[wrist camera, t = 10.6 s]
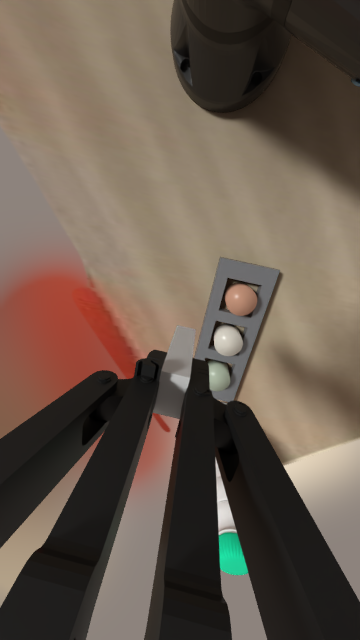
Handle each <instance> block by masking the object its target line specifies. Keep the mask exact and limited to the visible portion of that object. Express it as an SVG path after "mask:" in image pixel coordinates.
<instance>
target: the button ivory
mask: <svg viewBox="0 0 360 640" xmlns="http://www.w3.org/2000/svg"><path fill="white" fill-rule="evenodd" d="M214 346H215V349H216V350H217V352H218V353H220V354H221V355H224V356H233V355H235V354H237V353H238V352H239V351H240V350H241V349H242V346H243V341H242V338H241V335H240V333H239V330H238V328H237V327H236V326H235V325H233V324H229V323H223V324H221V325H219V326H218V327H217V328H216V329H215V331H214Z"/></svg>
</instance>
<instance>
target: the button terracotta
mask: <svg viewBox="0 0 360 640" xmlns="http://www.w3.org/2000/svg"><path fill="white" fill-rule="evenodd" d="M224 298H225V302H226V305H227V308H228V309H229V311H230V312H231V313H233V314H235V315H238V316H244V315H247V314H249V313H251V312H252V311H253V310H254V309H255V307H256V305H257V296H256V294H255V292H254V291H253V290H252V289H251V288H250V287H249V286H248V285H247V284H245V283H241V282H238V283H234V284H232V285H230V286H229V287H228V288H227V289H226V291H225V295H224Z"/></svg>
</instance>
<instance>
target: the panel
mask: <svg viewBox="0 0 360 640" xmlns="http://www.w3.org/2000/svg"><path fill="white" fill-rule="evenodd" d="M279 272H280V270H277V269H274V268H269V267H264V266H260V265H255V264H250V263H246V262H241V261H237V260H232V259H227V258H223V257H220V259H219V263H218V267H217V271H216V274H215V278H214V282H213V286H212V290H211V294H210V298H209V302H208V306H207V310H206V313H205V317H204V321H203V325H202V329H201V333H200V337H199V341H198V345H197V349H196V352H195V356H194V358H195V359H199V360H203V361H205V358H209V359H213V360H218V361H222V362H226V363H230V364H232V367H231V370H230V373H229V375H230V384H229V386H228V387H227V388H226V389H225V390H222V391H212V390H211V391H212V394H213V397H214V398H215V399H218V400H222V401H226V402H230V401H233V400H234V397H235V395H236V392H237V389H238V386H239V383H240V381H241V378H242V375H243V372H244V369H245V367H246V364H247V361H248V358H249V356H250V353H251V350H252V347H253V344H254V342H255V339H256V336H257V333H258V330H259V328H260V325H261V322H262V319H263V316H264V314H265V311H266V308H267V305H268V303H269V300H270V297H271V294H272V291H273V289H274V286H275V283H276V280H277V277H278V275H279ZM227 278H231V279H235V280H240V281H244V282H249V283H253V284H258V285H259V286H258V289H257V292H256V296H257V305H256V307H255V309H254V310H253V311H252V312H251V313H249V314H247V315H244V316H238V315H235V314H233V313H231V312H230V311H229V310H227V309H223V308H219V307H220V303H221V300H222V296H223V293H224V289H225V285H226V282H227ZM215 321H220V322H224V323H229V324H233V325H238V326H242V327H245V328H244V331H243V334H242V337H241V338H242V341H243V346H242V349H241V350H240V351H239V352H238V353H237V354H235V355H233V356H224V355H221V354H220V353H218V352H217V350H216V349H215V346H213V345H209V343H210V339H211V336H212V332H213V329H214V325H215Z"/></svg>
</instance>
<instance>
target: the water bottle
mask: <svg viewBox="0 0 360 640" xmlns="http://www.w3.org/2000/svg"><path fill="white" fill-rule="evenodd" d="M222 403H224V404H226V405H227V403H225V402H222ZM215 460H216V457H215ZM216 484H217V507H218V530H219V553H220V569H221V570H223V571H224V572H226V573H228V574H231V575H232V574H233V575H243V574H244V575H245V574H247V573H248V570H247V566H246V563H245V559H244V556H243V552H242V548H241V545H240V541H239V538H238V534H237V531H236V527H235V524H234V520H233V517H232V513H231V510H230V506H229V503H228V499H227V496H226V492H225V489H224V485H223V482H222V478H221V475H220V471H219V468H218V464H217V461H216Z"/></svg>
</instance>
